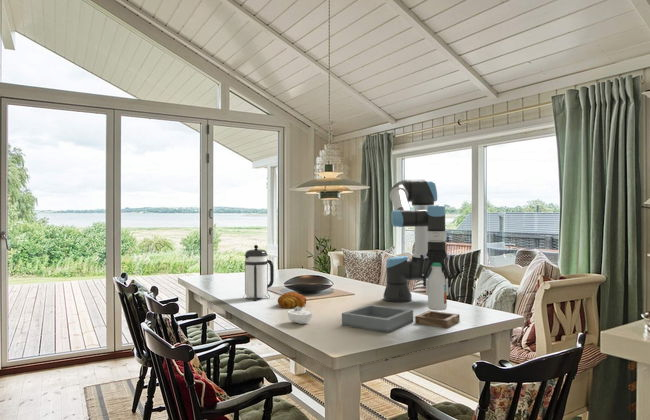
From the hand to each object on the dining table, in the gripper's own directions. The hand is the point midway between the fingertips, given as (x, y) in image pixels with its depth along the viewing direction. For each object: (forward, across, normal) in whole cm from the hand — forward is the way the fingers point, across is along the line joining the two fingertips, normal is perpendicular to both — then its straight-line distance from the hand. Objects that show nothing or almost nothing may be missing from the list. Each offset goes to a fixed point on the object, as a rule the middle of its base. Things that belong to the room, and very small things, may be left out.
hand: (437, 294), depth 192 cm
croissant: (+13, -74, +17) cm, 77 cm away
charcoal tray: (+12, -24, -9) cm, 28 cm away
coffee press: (+12, -100, +31) cm, 106 cm away
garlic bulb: (+12, -56, -17) cm, 60 cm away
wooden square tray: (+12, 0, 0) cm, 12 cm away
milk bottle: (+6, 0, 0) cm, 6 cm away
